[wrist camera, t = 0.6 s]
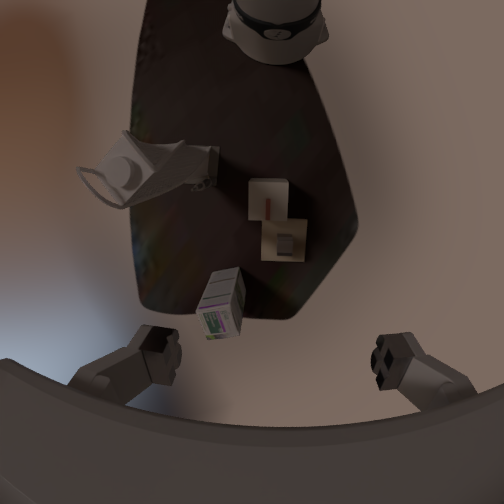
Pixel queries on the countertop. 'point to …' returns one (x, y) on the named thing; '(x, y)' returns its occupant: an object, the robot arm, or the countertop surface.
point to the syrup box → (222, 304)
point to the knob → (268, 199)
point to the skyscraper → (152, 170)
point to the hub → (284, 240)
